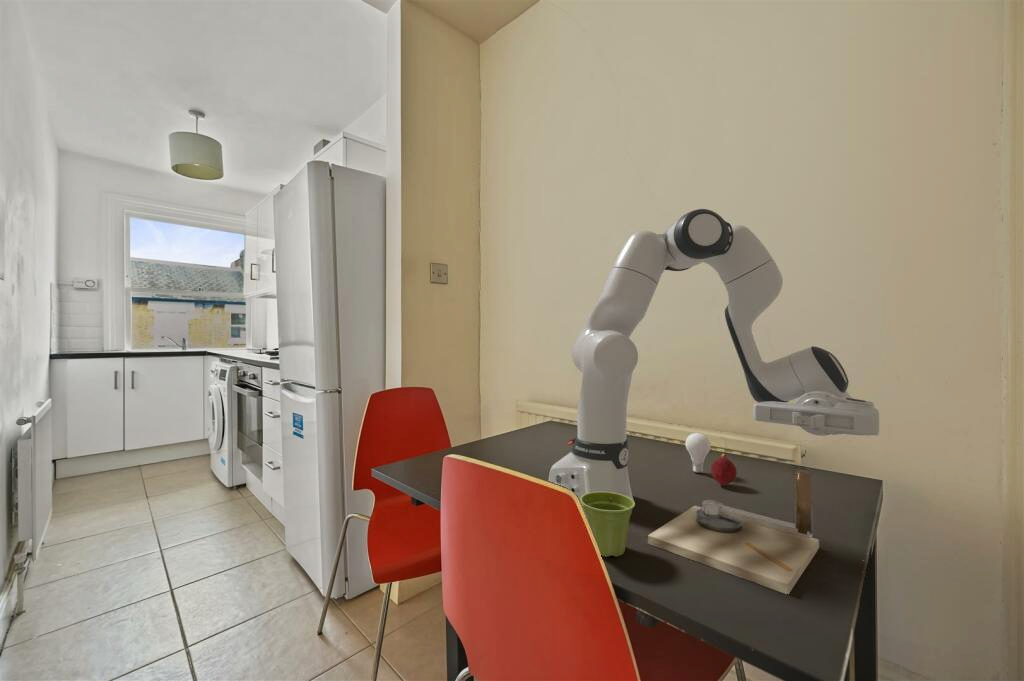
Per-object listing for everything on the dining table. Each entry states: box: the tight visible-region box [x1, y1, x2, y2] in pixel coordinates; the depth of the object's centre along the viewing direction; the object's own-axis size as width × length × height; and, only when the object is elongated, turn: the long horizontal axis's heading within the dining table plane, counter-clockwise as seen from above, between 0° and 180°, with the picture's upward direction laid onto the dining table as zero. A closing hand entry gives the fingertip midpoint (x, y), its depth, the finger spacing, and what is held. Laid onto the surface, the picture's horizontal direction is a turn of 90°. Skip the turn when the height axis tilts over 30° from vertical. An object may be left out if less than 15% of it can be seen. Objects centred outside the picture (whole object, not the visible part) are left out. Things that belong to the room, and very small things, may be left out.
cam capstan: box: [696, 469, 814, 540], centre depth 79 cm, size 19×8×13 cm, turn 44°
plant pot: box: [580, 492, 636, 558], centre depth 76 cm, size 9×9×9 cm
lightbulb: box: [684, 432, 711, 474], centre depth 120 cm, size 6×6×11 cm
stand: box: [647, 505, 820, 595], centre depth 77 cm, size 22×20×2 cm
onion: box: [710, 453, 738, 487], centre depth 109 cm, size 6×6×8 cm
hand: (803, 421), depth 79 cm, fingers closed
